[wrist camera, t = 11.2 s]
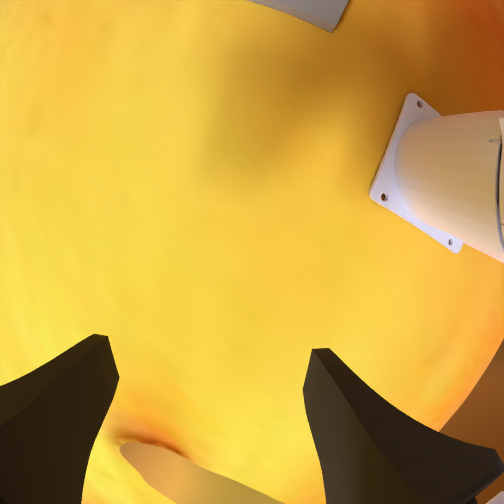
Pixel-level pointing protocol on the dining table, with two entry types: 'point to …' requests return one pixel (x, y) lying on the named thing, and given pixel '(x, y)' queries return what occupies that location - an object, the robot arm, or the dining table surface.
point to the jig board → (310, 10)
